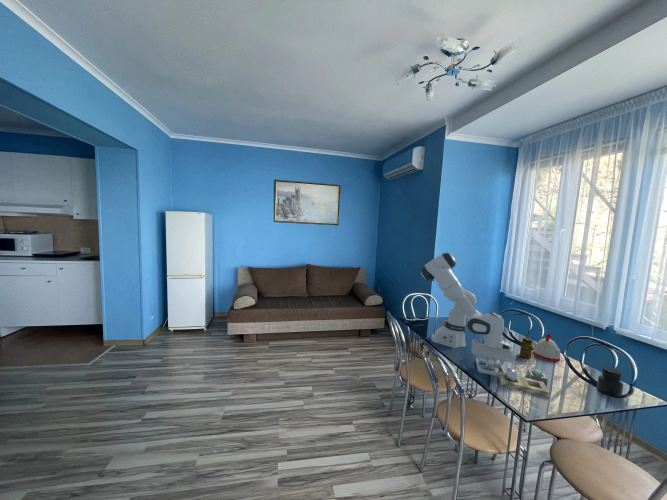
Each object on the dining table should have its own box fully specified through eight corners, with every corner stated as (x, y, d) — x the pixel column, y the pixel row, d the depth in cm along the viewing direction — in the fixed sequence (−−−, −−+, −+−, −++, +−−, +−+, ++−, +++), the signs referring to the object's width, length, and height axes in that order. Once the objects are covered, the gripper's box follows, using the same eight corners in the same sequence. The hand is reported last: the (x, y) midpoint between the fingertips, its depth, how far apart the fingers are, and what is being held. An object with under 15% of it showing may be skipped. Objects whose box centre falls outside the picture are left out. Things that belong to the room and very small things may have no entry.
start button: (533, 377, 143) (534, 371, 143) (531, 373, 146) (532, 368, 146) (542, 379, 141) (543, 373, 141) (540, 375, 145) (541, 370, 145)
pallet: (500, 386, 137) (501, 381, 137) (497, 376, 146) (498, 371, 146) (548, 398, 129) (549, 392, 129) (542, 387, 138) (543, 381, 138)
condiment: (533, 358, 170) (536, 340, 169) (528, 361, 166) (530, 342, 165) (520, 353, 176) (523, 335, 175) (515, 356, 172) (517, 338, 171)
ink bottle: (627, 397, 133) (631, 374, 132) (613, 399, 131) (617, 376, 130) (603, 386, 143) (607, 364, 142) (591, 387, 141) (594, 365, 140)
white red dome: (529, 354, 176) (532, 332, 175) (536, 349, 184) (539, 328, 183) (556, 363, 165) (559, 340, 164) (562, 357, 174) (565, 335, 172)
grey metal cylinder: (486, 370, 151) (487, 358, 151) (485, 366, 155) (486, 354, 155) (494, 372, 150) (496, 360, 149) (493, 368, 154) (495, 356, 153)
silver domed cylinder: (506, 384, 138) (507, 371, 138) (504, 379, 142) (506, 367, 142) (516, 386, 136) (518, 373, 136) (514, 382, 141) (516, 369, 140)
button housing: (530, 382, 142) (531, 375, 142) (527, 375, 149) (527, 369, 148) (546, 386, 139) (547, 378, 139) (542, 379, 146) (543, 372, 145)
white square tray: (477, 372, 149) (478, 368, 149) (475, 361, 161) (476, 358, 161) (505, 379, 144) (506, 374, 144) (501, 367, 156) (501, 363, 156)
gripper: (472, 339, 152) (469, 362, 154) (514, 348, 144) (511, 372, 145) (471, 335, 158) (469, 357, 159) (512, 343, 150) (509, 367, 151)
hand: (489, 365), depth 152 cm, fingers open, 8 cm apart
